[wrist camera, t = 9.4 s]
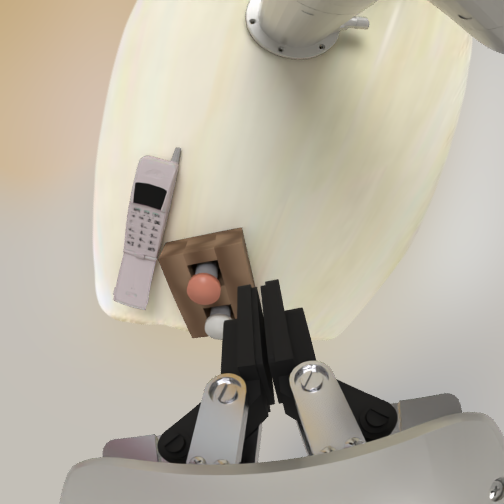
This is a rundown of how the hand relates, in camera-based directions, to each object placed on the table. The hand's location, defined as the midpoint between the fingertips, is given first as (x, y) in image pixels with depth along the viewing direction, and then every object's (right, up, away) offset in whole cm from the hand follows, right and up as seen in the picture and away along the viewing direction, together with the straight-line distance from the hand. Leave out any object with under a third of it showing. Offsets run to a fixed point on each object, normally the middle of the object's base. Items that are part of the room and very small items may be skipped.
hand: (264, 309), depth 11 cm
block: (-6, -2, +34) cm, 34 cm away
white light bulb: (-6, -6, +35) cm, 36 cm away
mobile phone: (-16, +7, +29) cm, 34 cm away
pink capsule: (-7, +1, +30) cm, 31 cm away
